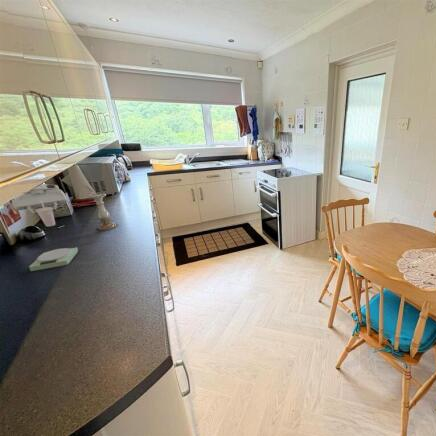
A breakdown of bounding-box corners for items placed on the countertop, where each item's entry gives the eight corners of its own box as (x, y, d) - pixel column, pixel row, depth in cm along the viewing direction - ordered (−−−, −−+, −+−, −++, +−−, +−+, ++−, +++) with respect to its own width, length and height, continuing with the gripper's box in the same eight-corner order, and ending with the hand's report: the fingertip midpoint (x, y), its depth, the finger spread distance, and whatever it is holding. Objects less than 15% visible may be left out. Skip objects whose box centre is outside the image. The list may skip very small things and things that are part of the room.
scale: (30, 271, 96) (27, 265, 95) (45, 256, 107) (43, 251, 106) (67, 264, 101) (65, 259, 100) (78, 251, 112) (76, 245, 111)
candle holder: (110, 223, 143) (100, 192, 136) (120, 225, 140) (110, 193, 133) (95, 229, 136) (83, 195, 128) (104, 231, 133) (93, 197, 125)
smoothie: (59, 222, 130) (49, 198, 125) (58, 225, 126) (48, 201, 121) (43, 224, 127) (33, 200, 121) (41, 228, 122) (30, 203, 117)
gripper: (5, 191, 116) (14, 214, 113) (60, 184, 130) (69, 204, 128) (9, 198, 120) (18, 220, 118) (62, 190, 135) (71, 210, 132)
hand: (45, 212), depth 123 cm, fingers closed on smoothie, 6 cm apart
